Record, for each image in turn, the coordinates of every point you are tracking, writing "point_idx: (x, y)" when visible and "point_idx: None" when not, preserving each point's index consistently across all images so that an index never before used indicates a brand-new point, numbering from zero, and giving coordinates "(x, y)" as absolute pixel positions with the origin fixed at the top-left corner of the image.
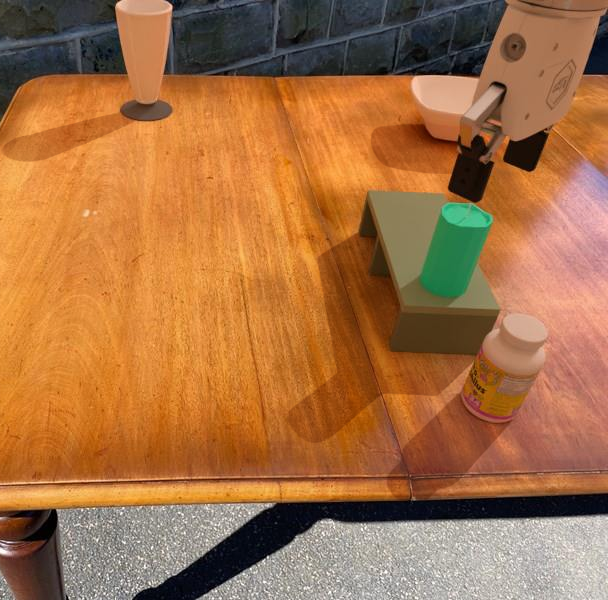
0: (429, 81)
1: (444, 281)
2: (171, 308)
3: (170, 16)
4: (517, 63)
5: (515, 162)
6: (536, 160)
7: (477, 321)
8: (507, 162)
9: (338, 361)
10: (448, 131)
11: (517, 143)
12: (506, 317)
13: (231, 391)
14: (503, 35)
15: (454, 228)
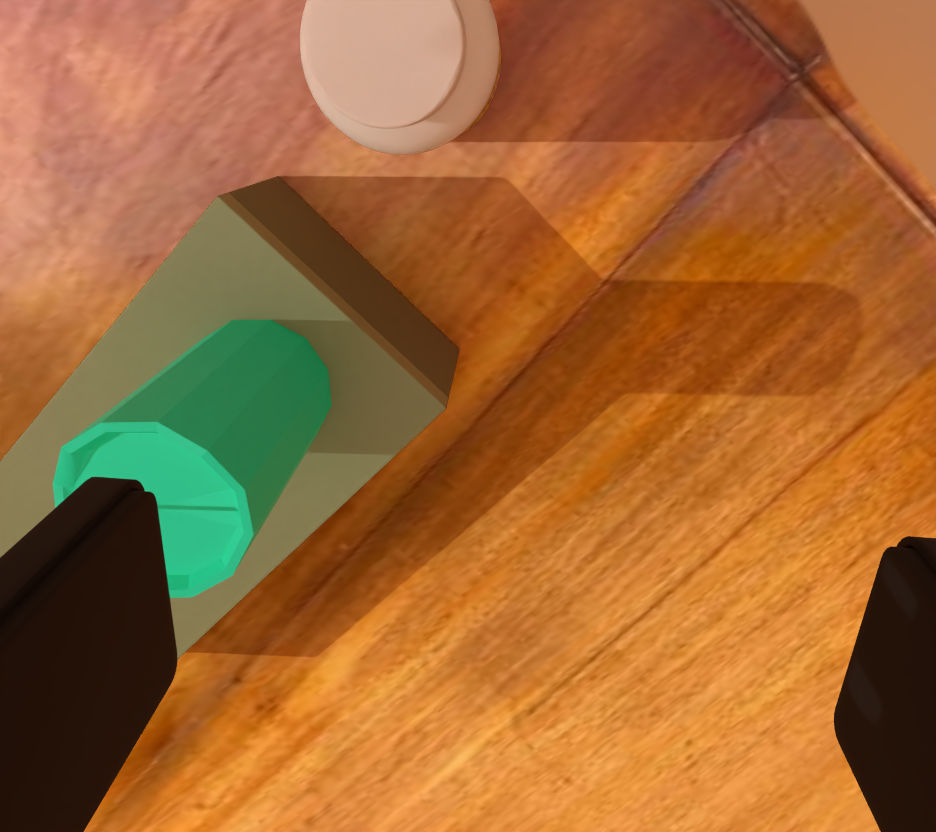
0: None
1: (309, 382)
2: (723, 743)
3: None
4: None
5: (155, 610)
6: (85, 527)
7: (280, 230)
8: (173, 641)
9: (589, 413)
10: None
11: (85, 751)
12: (390, 122)
13: (846, 513)
14: None
15: (254, 499)
